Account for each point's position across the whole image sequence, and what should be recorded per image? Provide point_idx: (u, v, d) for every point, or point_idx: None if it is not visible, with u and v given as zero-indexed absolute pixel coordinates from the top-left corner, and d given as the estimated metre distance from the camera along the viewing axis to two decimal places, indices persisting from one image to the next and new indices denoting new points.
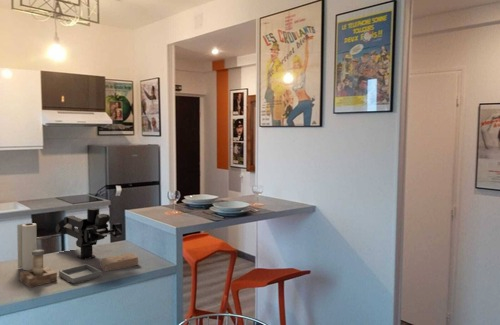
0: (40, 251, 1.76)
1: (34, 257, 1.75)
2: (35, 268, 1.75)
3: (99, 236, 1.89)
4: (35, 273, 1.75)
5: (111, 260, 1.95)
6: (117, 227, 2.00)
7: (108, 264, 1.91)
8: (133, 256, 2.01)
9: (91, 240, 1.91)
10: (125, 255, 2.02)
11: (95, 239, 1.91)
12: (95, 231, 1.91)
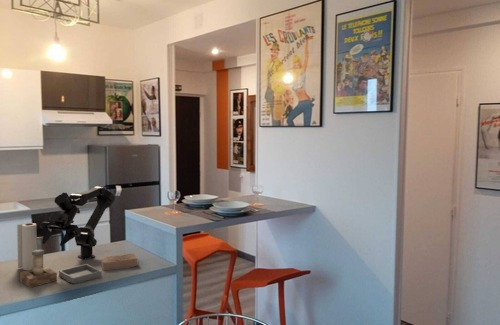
0: (40, 251, 1.76)
1: (34, 257, 1.75)
2: (35, 268, 1.75)
3: None
4: (35, 273, 1.75)
5: (110, 260, 1.95)
6: (66, 232, 1.85)
7: (106, 264, 1.92)
8: (133, 257, 2.00)
9: None
10: (126, 255, 2.02)
11: None
12: (44, 230, 1.87)
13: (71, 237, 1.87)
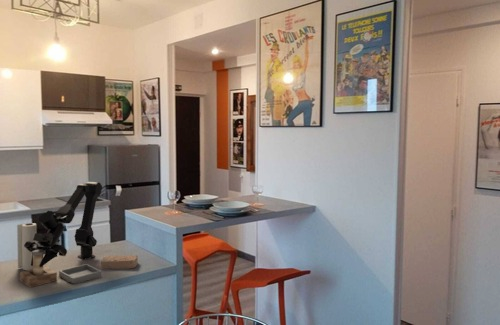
0: (40, 251, 1.76)
1: (34, 257, 1.75)
2: (35, 268, 1.75)
3: None
4: (35, 273, 1.75)
5: (109, 259, 1.96)
6: (46, 253, 1.77)
7: (103, 262, 1.94)
8: (132, 258, 1.98)
9: None
10: (127, 256, 2.01)
11: None
12: None
13: (51, 257, 1.79)
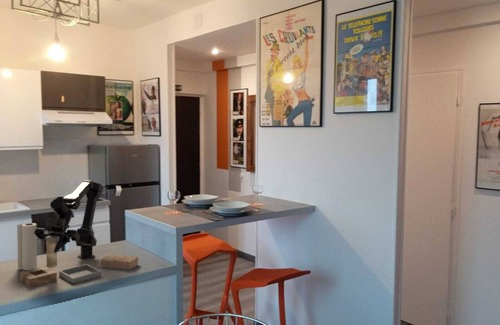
0: (54, 237, 1.76)
1: (48, 243, 1.74)
2: (50, 254, 1.74)
3: None
4: (49, 259, 1.75)
5: (109, 258, 1.98)
6: (60, 238, 1.77)
7: (102, 261, 1.96)
8: (129, 259, 1.96)
9: None
10: (128, 257, 2.00)
11: None
12: None
13: (64, 242, 1.79)
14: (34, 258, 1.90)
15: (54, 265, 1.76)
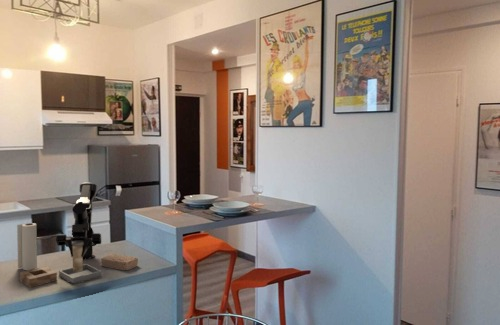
0: (80, 241, 1.79)
1: (76, 248, 1.77)
2: (77, 258, 1.78)
3: (70, 251, 1.79)
4: (77, 264, 1.78)
5: (109, 257, 1.99)
6: (86, 242, 1.81)
7: (102, 260, 1.97)
8: (127, 260, 1.95)
9: (67, 246, 1.82)
10: (128, 257, 1.99)
11: (69, 248, 1.81)
12: (69, 243, 1.79)
13: (88, 246, 1.84)
14: (34, 258, 1.90)
15: (81, 269, 1.79)
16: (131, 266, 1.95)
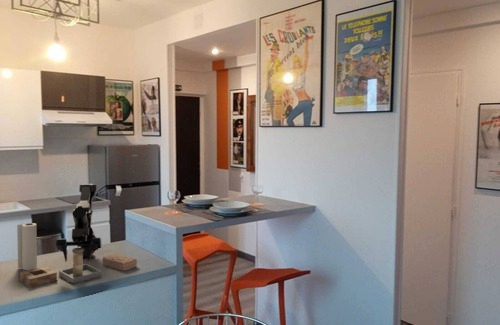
0: (80, 248, 1.80)
1: (77, 255, 1.78)
2: (78, 265, 1.78)
3: (64, 256, 1.78)
4: (77, 271, 1.78)
5: (110, 257, 2.00)
6: (91, 246, 1.82)
7: (103, 259, 1.99)
8: (125, 261, 1.94)
9: (61, 250, 1.82)
10: (127, 258, 1.98)
11: (63, 253, 1.81)
12: (63, 247, 1.79)
13: (94, 250, 1.84)
14: (34, 258, 1.90)
15: None
16: (128, 267, 1.93)
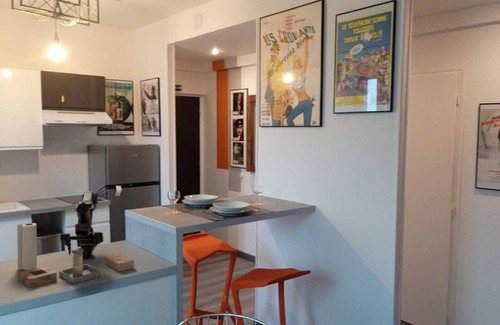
0: (80, 249, 1.79)
1: (76, 255, 1.77)
2: (77, 266, 1.78)
3: (68, 249, 1.87)
4: (77, 271, 1.78)
5: (112, 256, 2.01)
6: (94, 240, 1.90)
7: (105, 258, 2.01)
8: (121, 261, 1.93)
9: (65, 244, 1.91)
10: (126, 258, 1.97)
11: None
12: (67, 241, 1.87)
13: (96, 244, 1.93)
14: (34, 258, 1.90)
15: None
16: (124, 268, 1.92)
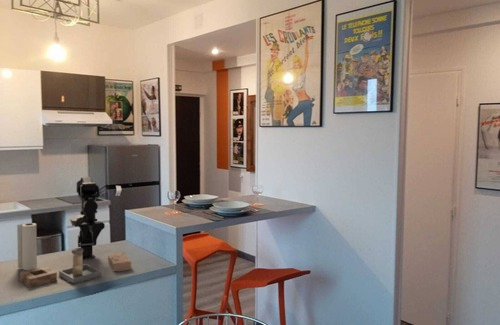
0: (80, 249, 1.79)
1: (76, 255, 1.77)
2: (77, 266, 1.78)
3: None
4: (77, 271, 1.78)
5: (114, 255, 2.02)
6: (91, 231, 1.89)
7: (108, 256, 2.03)
8: (117, 261, 1.92)
9: None
10: (125, 259, 1.96)
11: None
12: (79, 227, 1.97)
13: (99, 231, 1.92)
14: (34, 258, 1.90)
15: None
16: (119, 268, 1.91)
